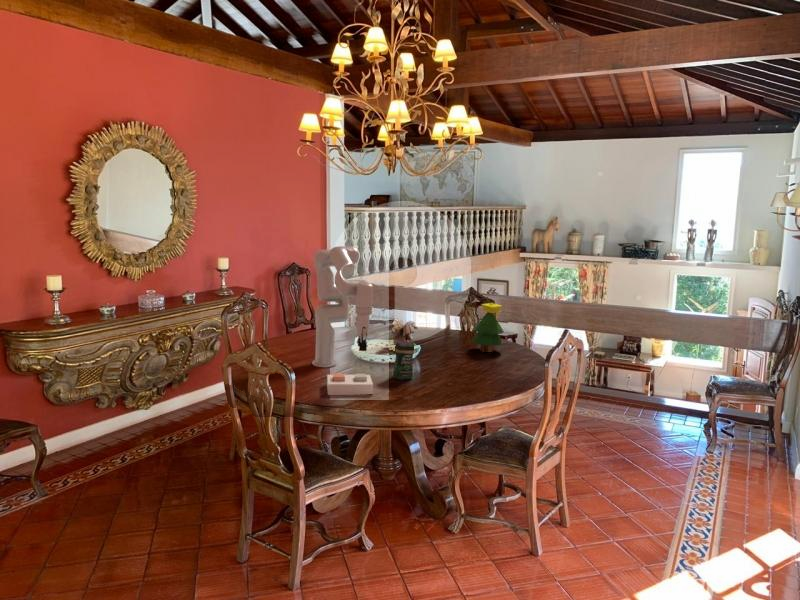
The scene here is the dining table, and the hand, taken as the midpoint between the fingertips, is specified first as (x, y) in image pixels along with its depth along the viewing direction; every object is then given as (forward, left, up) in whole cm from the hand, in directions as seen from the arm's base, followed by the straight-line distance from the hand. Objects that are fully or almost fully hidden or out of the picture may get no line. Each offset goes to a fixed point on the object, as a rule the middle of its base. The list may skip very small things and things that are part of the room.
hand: (362, 348), depth 271 cm
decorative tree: (-69, +82, -20) cm, 109 cm away
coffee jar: (-18, +23, -20) cm, 35 cm away
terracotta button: (0, -10, -16) cm, 19 cm away
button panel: (0, -5, -20) cm, 20 cm away
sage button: (0, 0, -16) cm, 16 cm away
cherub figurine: (-73, +32, -20) cm, 82 cm away
